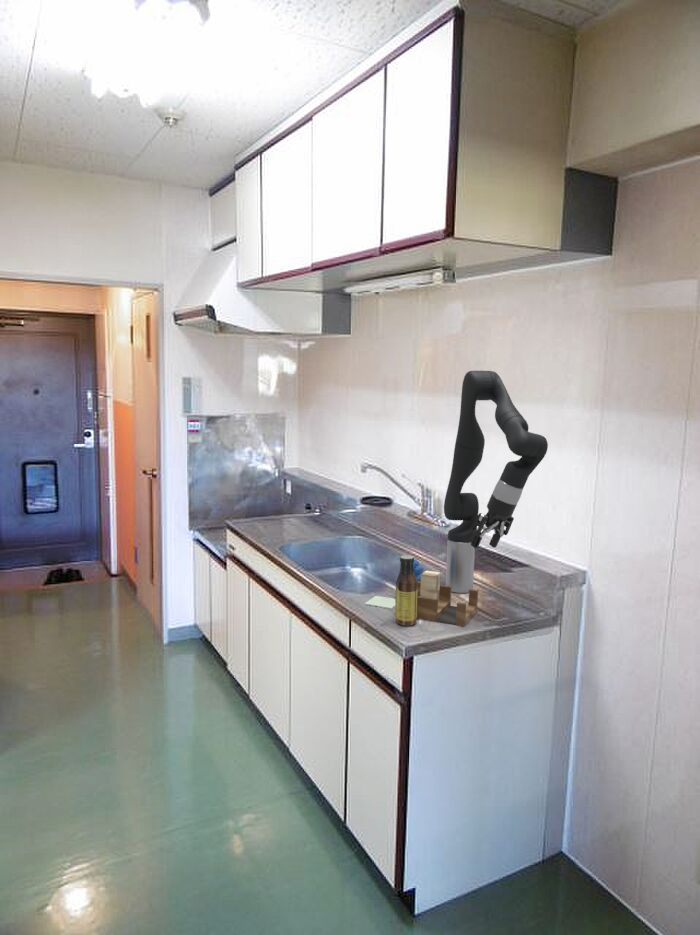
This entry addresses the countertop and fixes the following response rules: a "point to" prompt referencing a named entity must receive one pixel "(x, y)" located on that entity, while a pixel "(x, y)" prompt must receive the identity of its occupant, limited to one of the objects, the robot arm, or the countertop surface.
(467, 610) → the wooden holder
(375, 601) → the mat
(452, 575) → the robot arm
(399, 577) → the sauce bottle
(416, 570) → the grapes
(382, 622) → the countertop surface
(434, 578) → the block
